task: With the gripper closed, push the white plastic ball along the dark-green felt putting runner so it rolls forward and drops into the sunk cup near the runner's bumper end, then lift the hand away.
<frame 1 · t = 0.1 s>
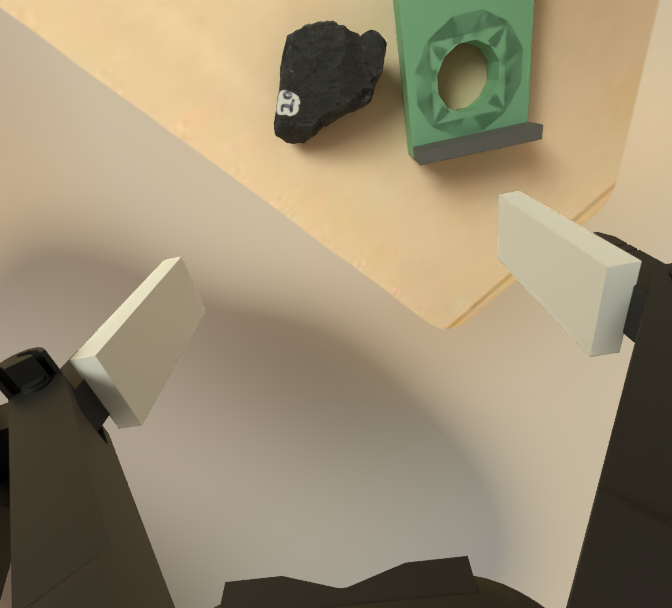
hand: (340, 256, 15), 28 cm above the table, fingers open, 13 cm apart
mineral: (320, 79, 36), on the table
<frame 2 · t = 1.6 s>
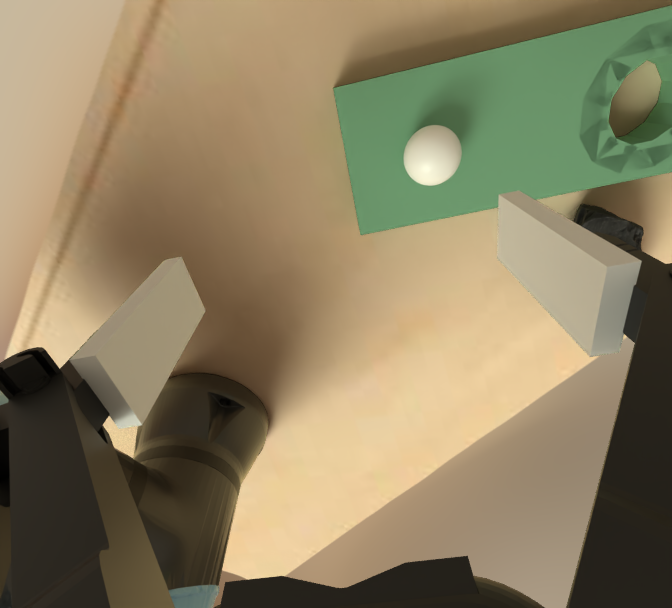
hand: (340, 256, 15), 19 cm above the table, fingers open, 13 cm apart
mineral: (570, 257, 36), on the table
ball: (432, 156, 26), point 5 cm above the table, touching green
green: (517, 123, 30), on the table
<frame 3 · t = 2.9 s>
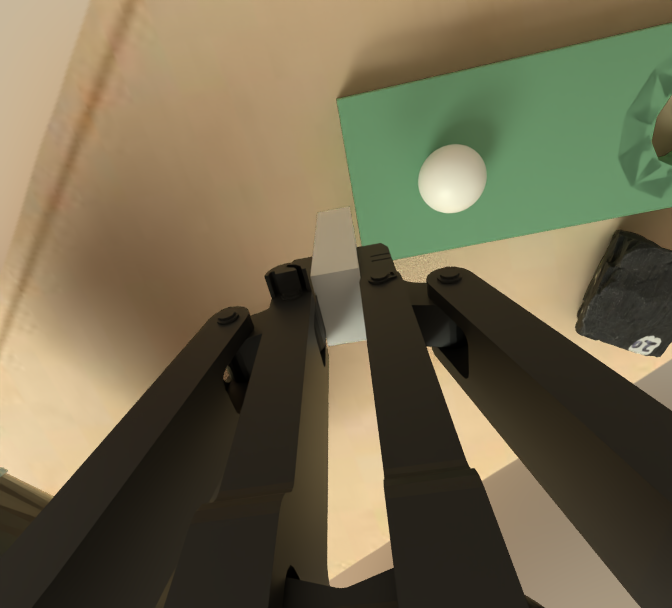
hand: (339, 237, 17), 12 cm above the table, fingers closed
mineral: (600, 287, 33), on the table
ball: (451, 179, 23), point 5 cm above the table, touching green
green: (544, 141, 26), on the table
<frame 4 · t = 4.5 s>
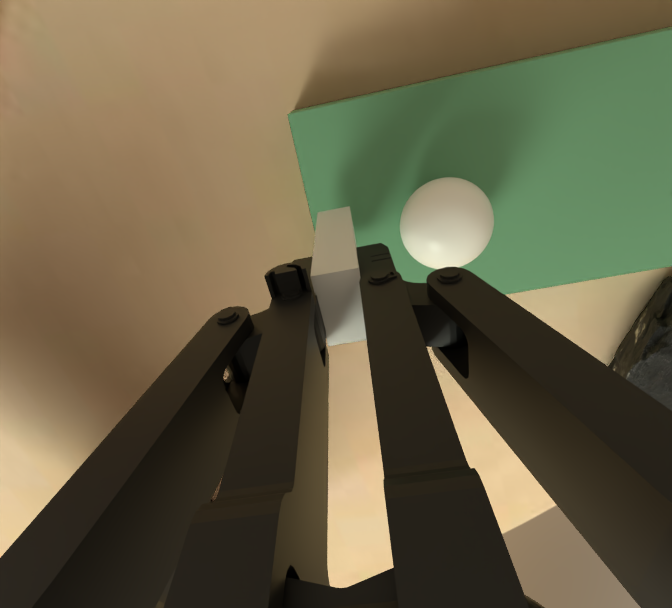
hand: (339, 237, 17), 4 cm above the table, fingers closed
mineral: (636, 340, 27), on the table
ball: (445, 224, 17), point 5 cm above the table, touching green
green: (569, 166, 20), on the table
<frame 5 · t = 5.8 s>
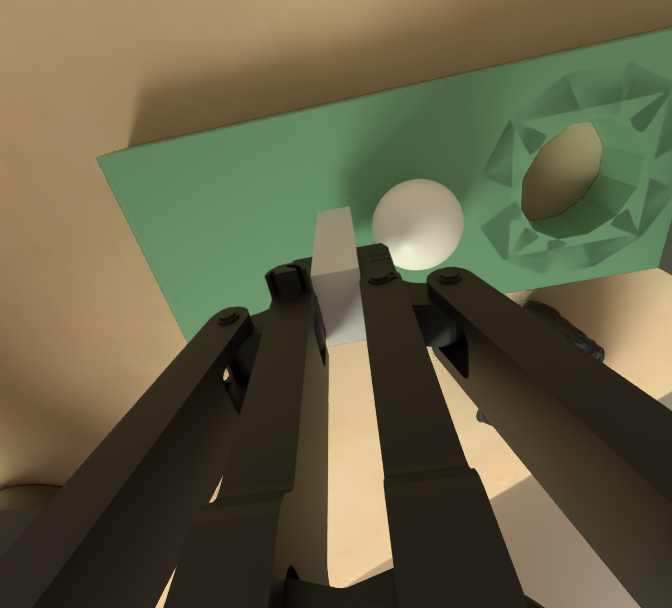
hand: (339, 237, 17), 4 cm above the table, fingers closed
mineral: (512, 359, 28), on the table
ball: (416, 225, 17), point 5 cm above the table, tilted 140°, touching green
green: (403, 199, 21), on the table
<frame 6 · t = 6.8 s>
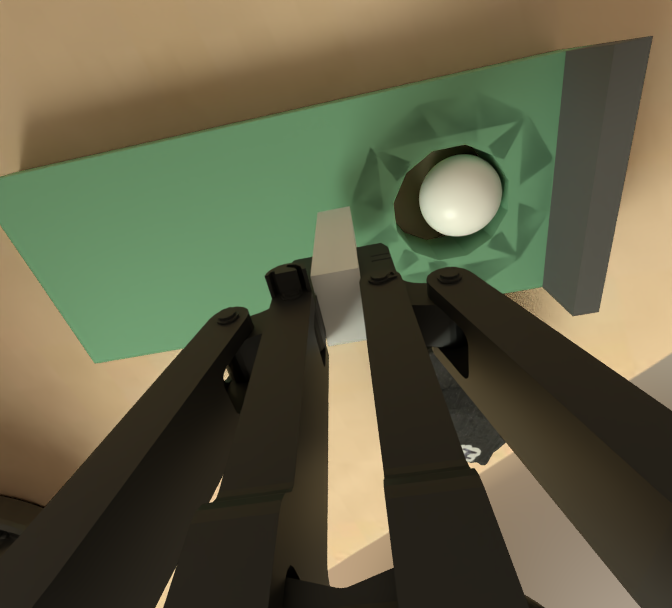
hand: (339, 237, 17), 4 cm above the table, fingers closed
mineral: (433, 372, 28), on the table
ball: (459, 196, 19), point 2 cm above the table, tilted 146°
green: (297, 219, 21), on the table
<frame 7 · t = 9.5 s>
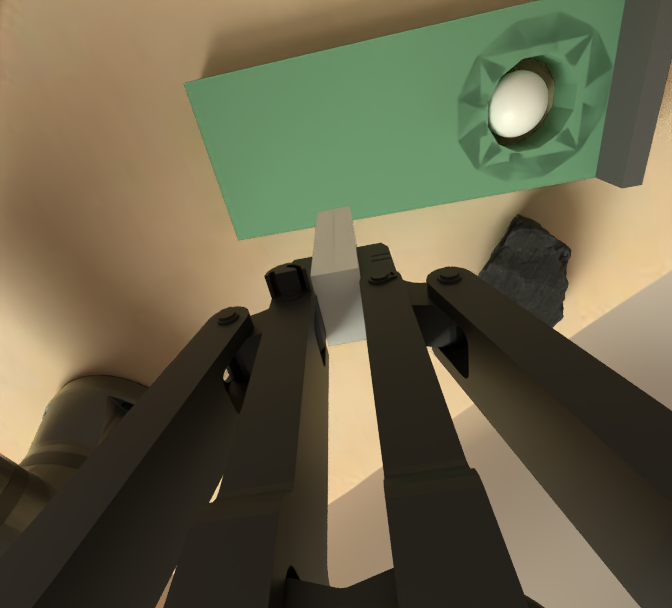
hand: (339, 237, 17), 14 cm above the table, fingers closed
mineral: (501, 271, 34), on the table
ball: (514, 105, 25), point 2 cm above the table, tilted 109°
green: (402, 125, 28), on the table
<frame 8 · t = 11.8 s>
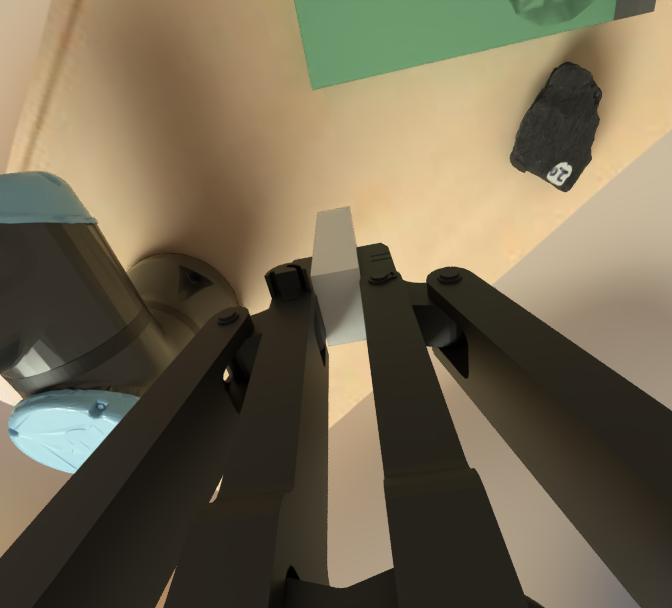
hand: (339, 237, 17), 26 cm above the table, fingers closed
mineral: (535, 133, 40), on the table
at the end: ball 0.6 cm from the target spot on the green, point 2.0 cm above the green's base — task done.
